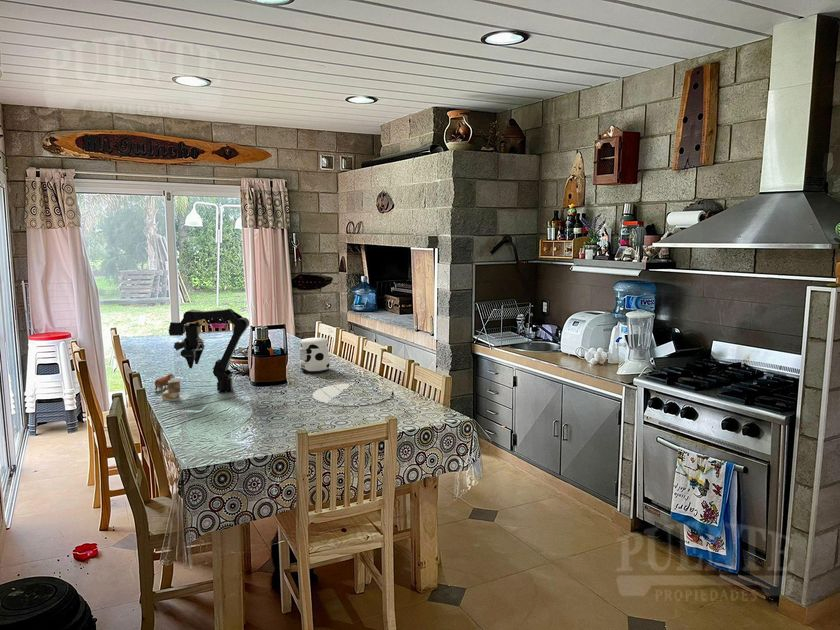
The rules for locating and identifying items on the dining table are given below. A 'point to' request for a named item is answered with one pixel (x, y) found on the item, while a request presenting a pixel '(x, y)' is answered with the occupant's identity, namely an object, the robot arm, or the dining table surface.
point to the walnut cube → (173, 386)
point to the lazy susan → (333, 391)
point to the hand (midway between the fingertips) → (193, 366)
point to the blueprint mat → (181, 397)
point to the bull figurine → (163, 381)
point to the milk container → (314, 355)
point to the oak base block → (170, 395)
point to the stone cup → (198, 333)
